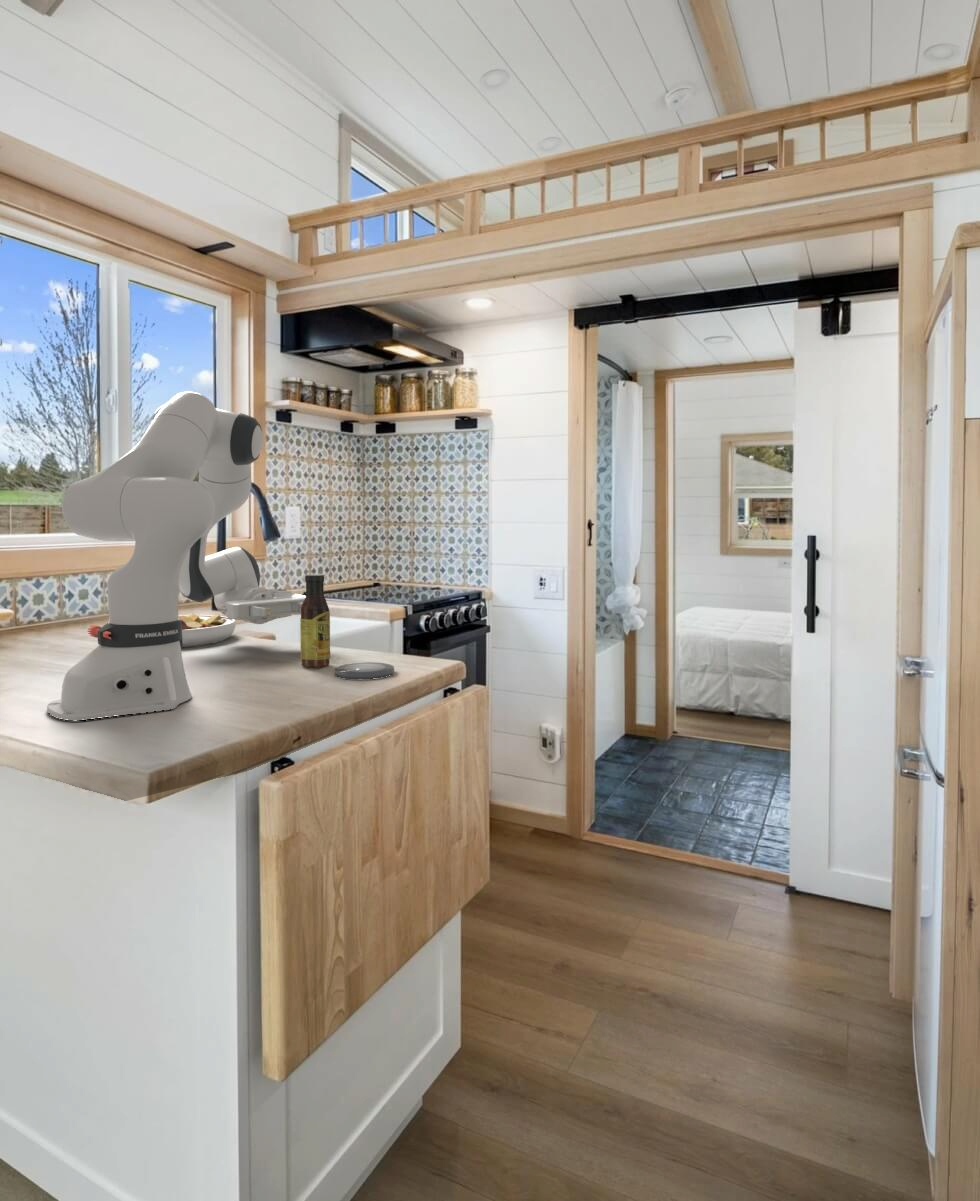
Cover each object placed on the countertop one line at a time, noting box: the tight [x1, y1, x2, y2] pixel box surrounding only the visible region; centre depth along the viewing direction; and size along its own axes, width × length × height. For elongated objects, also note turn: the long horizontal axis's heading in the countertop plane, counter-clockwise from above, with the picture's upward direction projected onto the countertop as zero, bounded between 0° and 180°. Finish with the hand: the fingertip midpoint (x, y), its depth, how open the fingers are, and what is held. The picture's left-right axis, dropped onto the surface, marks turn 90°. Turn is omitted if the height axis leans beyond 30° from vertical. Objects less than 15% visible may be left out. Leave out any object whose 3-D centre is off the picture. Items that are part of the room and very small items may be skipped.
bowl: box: [178, 613, 236, 648], centre depth 199 cm, size 30×30×8 cm
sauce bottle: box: [299, 574, 331, 669], centre depth 165 cm, size 7×6×20 cm
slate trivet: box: [334, 661, 395, 680], centre depth 158 cm, size 12×12×1 cm
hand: (286, 610), depth 173 cm, fingers open, 8 cm apart
